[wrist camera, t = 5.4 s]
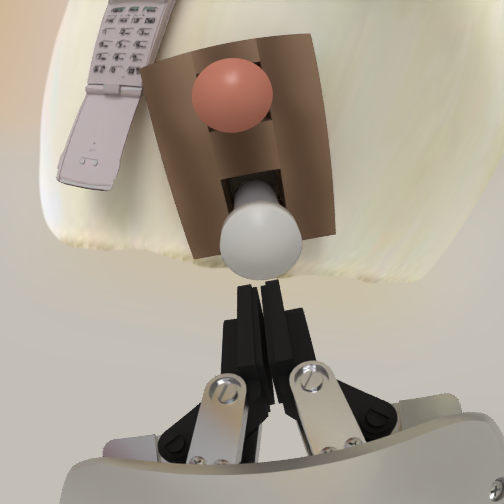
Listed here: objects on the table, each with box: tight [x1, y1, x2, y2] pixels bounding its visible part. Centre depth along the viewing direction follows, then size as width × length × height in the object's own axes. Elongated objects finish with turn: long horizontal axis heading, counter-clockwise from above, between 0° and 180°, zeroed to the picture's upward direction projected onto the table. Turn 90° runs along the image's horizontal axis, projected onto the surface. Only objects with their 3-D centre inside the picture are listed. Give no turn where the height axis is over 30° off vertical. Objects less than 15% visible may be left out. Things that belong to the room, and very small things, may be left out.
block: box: [139, 34, 336, 259], centre depth 20 cm, size 12×16×5 cm
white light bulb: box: [220, 179, 302, 280], centre depth 18 cm, size 4×4×7 cm
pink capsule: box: [192, 58, 273, 133], centre depth 16 cm, size 4×4×7 cm
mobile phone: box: [56, 0, 176, 191], centre depth 15 cm, size 6×6×25 cm
